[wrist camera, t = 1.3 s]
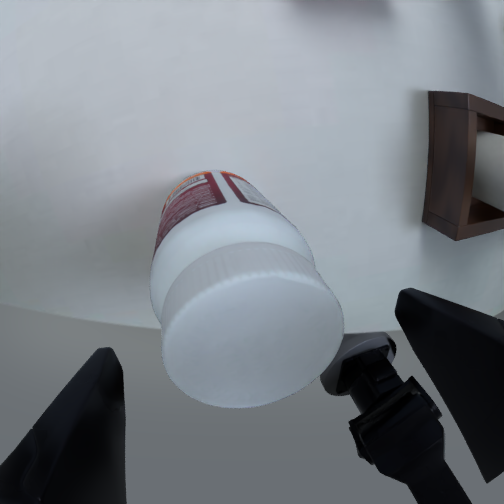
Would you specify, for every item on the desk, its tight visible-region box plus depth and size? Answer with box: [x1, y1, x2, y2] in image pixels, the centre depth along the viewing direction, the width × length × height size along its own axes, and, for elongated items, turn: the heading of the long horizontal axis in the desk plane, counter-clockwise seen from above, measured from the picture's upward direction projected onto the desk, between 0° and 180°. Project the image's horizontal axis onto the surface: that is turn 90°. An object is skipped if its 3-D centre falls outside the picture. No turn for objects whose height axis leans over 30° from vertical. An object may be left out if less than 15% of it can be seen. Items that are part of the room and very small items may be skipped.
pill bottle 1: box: [150, 170, 344, 408], centre depth 12 cm, size 6×6×11 cm
